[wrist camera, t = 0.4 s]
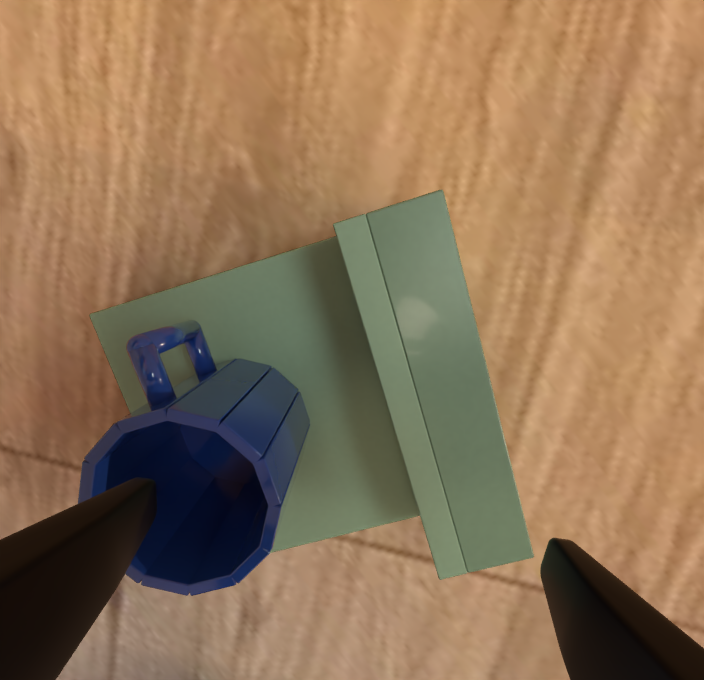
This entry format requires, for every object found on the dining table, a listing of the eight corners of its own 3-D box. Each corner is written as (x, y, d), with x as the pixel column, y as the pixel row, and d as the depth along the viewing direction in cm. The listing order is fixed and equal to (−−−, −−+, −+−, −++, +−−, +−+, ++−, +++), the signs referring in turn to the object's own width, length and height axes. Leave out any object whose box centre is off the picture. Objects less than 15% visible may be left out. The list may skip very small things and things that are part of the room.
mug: (205, 497, 20) (125, 612, 14) (140, 334, 19) (12, 372, 12) (325, 465, 20) (304, 568, 13) (268, 295, 18) (210, 311, 11)
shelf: (217, 533, 24) (154, 647, 17) (127, 307, 22) (7, 327, 15) (480, 465, 23) (534, 558, 16) (414, 217, 21) (443, 188, 13)
